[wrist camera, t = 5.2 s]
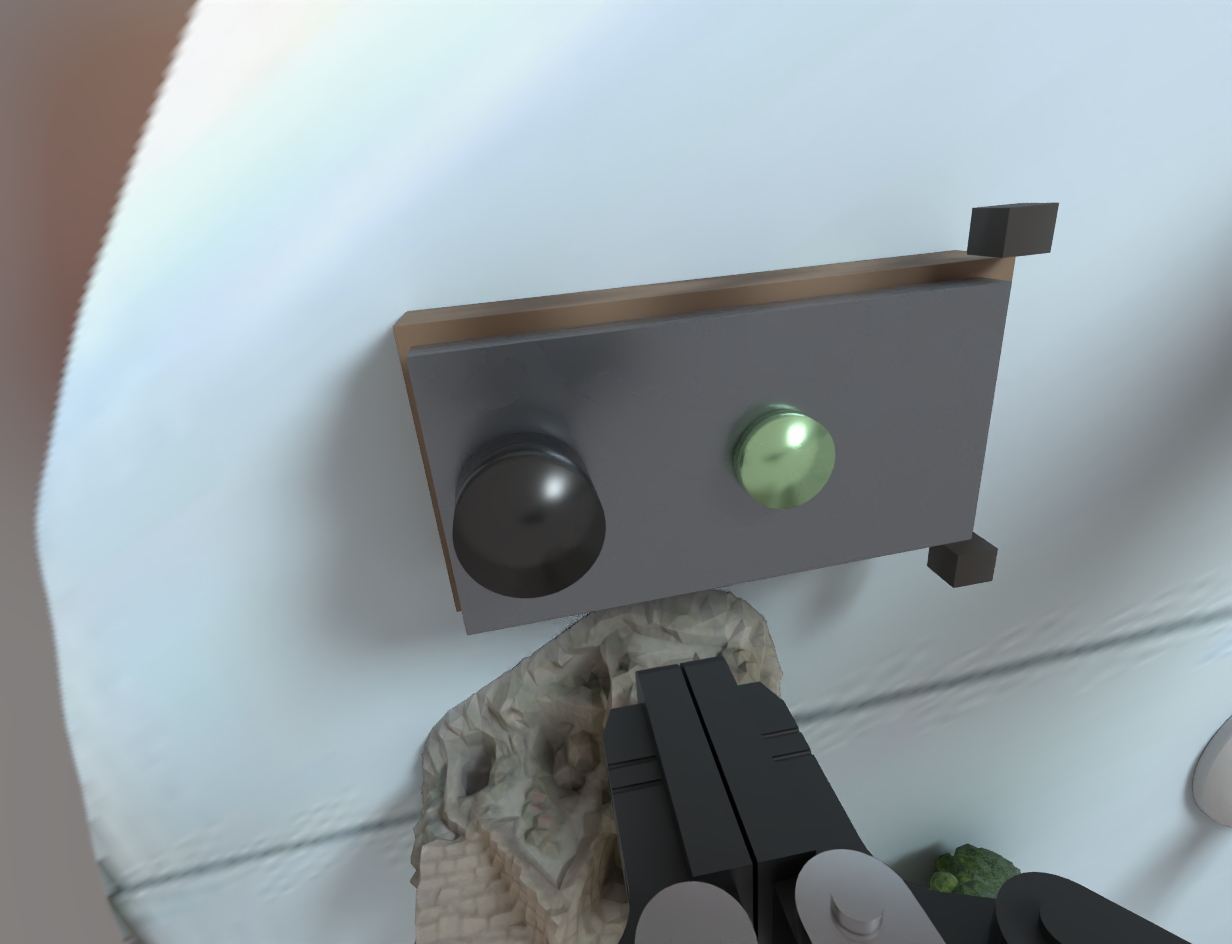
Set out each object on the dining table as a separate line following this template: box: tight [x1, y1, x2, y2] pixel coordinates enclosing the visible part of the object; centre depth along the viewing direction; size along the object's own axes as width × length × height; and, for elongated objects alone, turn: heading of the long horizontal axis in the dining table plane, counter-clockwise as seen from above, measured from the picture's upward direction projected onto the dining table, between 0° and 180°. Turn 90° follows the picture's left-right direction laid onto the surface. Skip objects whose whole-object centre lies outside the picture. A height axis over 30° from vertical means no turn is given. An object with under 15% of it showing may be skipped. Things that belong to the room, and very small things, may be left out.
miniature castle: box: [410, 589, 783, 944], centre depth 23 cm, size 16×16×15 cm
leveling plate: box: [406, 277, 1012, 635], centre depth 19 cm, size 18×9×4 cm, turn 95°
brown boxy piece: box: [393, 203, 1059, 611], centre depth 22 cm, size 20×13×5 cm, turn 95°
